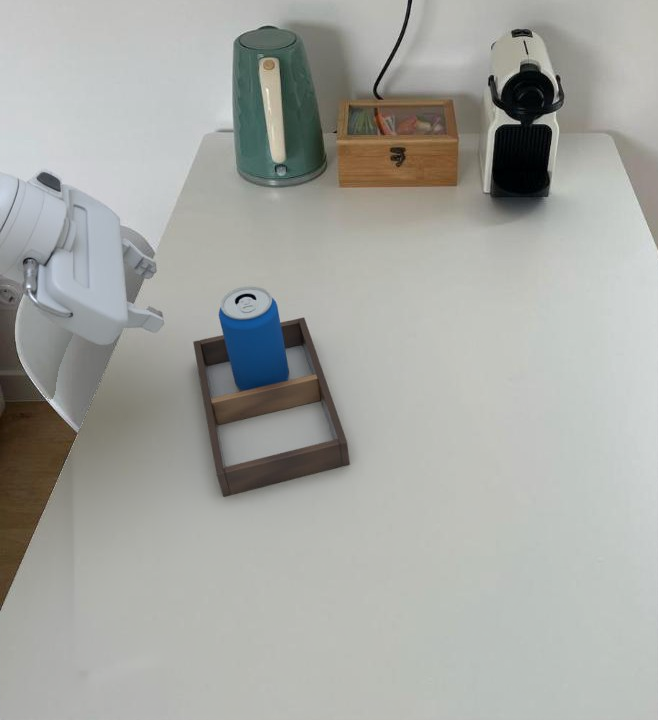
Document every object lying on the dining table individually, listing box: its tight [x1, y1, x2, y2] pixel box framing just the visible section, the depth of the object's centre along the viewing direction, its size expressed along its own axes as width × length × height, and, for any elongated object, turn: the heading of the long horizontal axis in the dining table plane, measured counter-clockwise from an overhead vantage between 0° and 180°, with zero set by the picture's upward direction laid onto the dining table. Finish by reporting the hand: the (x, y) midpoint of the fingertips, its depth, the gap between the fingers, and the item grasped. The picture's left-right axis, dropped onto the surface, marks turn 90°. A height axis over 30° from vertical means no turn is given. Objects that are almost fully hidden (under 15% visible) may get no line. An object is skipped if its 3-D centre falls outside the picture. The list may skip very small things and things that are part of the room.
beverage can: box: [218, 285, 290, 391], centre depth 93 cm, size 6×6×12 cm
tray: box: [192, 317, 351, 497], centre depth 92 cm, size 14×22×4 cm, turn 17°
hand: (156, 296), depth 85 cm, fingers open, 8 cm apart
